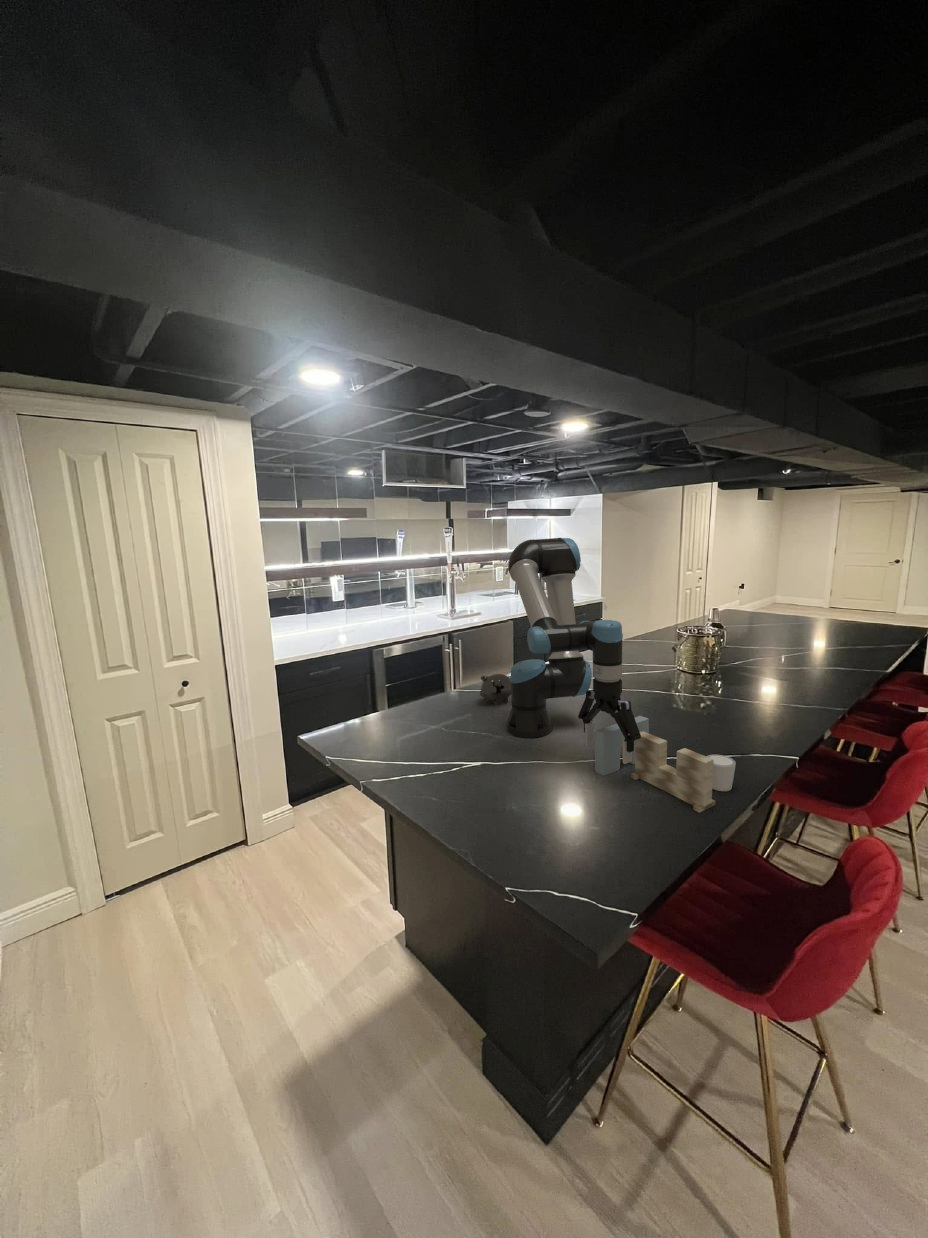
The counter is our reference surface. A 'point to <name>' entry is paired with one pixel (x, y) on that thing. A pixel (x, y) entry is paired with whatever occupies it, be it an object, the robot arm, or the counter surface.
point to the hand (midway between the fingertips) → (607, 753)
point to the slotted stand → (675, 771)
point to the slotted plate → (613, 746)
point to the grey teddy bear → (496, 688)
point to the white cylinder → (722, 772)
